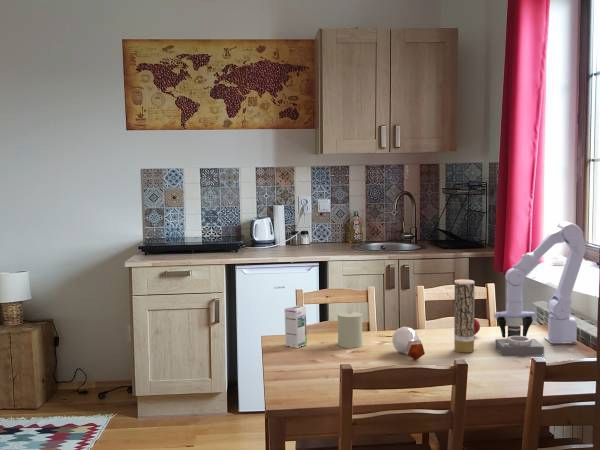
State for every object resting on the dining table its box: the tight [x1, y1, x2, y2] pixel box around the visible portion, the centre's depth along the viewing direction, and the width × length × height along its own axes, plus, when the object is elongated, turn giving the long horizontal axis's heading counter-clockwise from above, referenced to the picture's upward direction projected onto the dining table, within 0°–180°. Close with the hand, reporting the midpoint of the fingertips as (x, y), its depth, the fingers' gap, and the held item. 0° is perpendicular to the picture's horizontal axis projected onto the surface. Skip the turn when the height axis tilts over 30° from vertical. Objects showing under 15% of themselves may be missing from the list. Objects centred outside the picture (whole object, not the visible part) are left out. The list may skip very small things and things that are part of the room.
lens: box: [507, 324, 522, 337], centre depth 258 cm, size 5×5×6 cm
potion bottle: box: [391, 326, 426, 361], centre depth 242 cm, size 9×10×15 cm
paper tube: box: [453, 278, 476, 354], centre depth 245 cm, size 7×7×25 cm
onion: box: [474, 317, 481, 336], centre depth 265 cm, size 6×6×8 cm
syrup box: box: [284, 305, 308, 349], centre depth 256 cm, size 6×6×14 cm
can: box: [337, 311, 363, 349], centre depth 256 cm, size 9×9×12 cm
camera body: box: [495, 335, 545, 356], centre depth 244 cm, size 14×10×4 cm
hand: (514, 336), depth 258 cm, fingers open, 7 cm apart
